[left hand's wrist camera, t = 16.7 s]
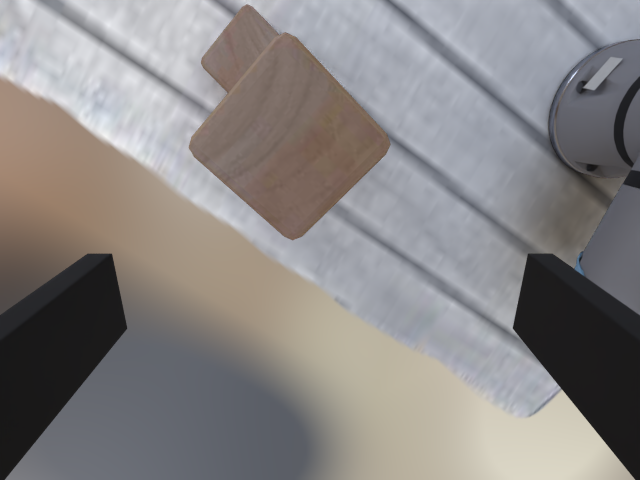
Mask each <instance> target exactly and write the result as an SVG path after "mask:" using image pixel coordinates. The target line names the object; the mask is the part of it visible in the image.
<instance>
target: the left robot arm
mask: <svg viewBox="0 0 640 480" xmlns="http://www.w3.org/2000/svg"><path fill="white" fill-rule="evenodd" d="M549 132H550V138H551V142H552V145H553V148H554V150H555V152H556V153H557V155H558V156H559V158H560V159H561V160H562V161H563V162H564V163H565V164H566V165H567V166H569V167H570V168H572V169H574V170H576V171H578V172H580V173H584V174H587V175H590V176H594V177H602V178H617V177H625V176H627V178H626V179H625V181H624V183H623V184H622V186H621V187H620V189H619V191H618V193H617V194H616V196H615V198H614V199H613V201H612V203H611V205H610V206H609V208H608V210H607V212H606V213H605V215H604V217H603V219H602V220H601V222H600V224H599V226H598V227H597V229H596V231H595V233H594V234H593V236H592V238H591V240H590V241H589V243H588V245H587V247H586V248H585V250H584V251H583V252H581V253H580V254H579V256H578V258H577V263H576V267H575V269H573V268H572V267H571V266H569V265H568V264H566V263H565V262H563V261H562V260H561V259H559V258H558V257H556V256H555V255H553V254H528V257H527V261H526V266H525V271H524V276H523V281H522V286H521V291H520V296H519V300H518V305H517V310H516V315H515V320H514V325H513V329H514V331H515V332H516V333H517V334H518V335H519V337H520V338H521V339H522V340H523V342H524V343H525V344H526V345H527V347H528V348H529V349H530V350H531V352H532V353H533V354H534V355H535V356H536V358H537V359H538V360H539V361H540V363H541V364H542V365H543V366H544V368H545V369H546V370H547V371H548V372H549V374H550V375H551V376H552V377H553V379H554V380H555V381H556V382H557V384H558V385H559V386H560V387H561V389H562V390H563V391H564V392H565V393H566V395H567V396H568V397H569V398H570V400H571V401H572V402H573V403H574V405H575V406H576V407H577V408H578V409H579V411H580V412H581V413H582V414H583V416H584V417H585V418H586V419H587V421H588V422H589V423H590V424H591V426H592V427H593V428H594V429H595V430H596V432H597V433H598V434H599V435H600V437H601V438H602V439H603V440H604V442H605V443H606V444H607V445H608V447H609V448H610V449H611V450H612V451H613V453H614V454H615V455H616V456H617V458H618V459H619V460H620V461H621V463H622V464H623V465H624V466H625V467H626V469H627V470H628V471H629V472H630V474H631V475H632V476H633V477H634V479H635V480H640V39H637V40H629V41H623V42H618V43H614V44H611V45H608V46H605V47H603V48H601V49H599V50H597V51H595V52H593V53H592V54H590V55H589V56H587V57H586V58H585V59H583V60H582V61H581V62H580V63H579V64H578V65H577V66H576V67H575V68H574V69H573V70H572V71H571V72H570V73H569V74H568V76H567V77H566V78H565V80H564V81H563V83H562V84H561V86H560V88H559V90H558V92H557V94H556V96H555V98H554V101H553V104H552V108H551V112H550V119H549ZM631 186H632V187H631ZM634 187H635V188H634ZM638 188H639V189H638ZM126 329H127V325H126V320H125V315H124V310H123V305H122V301H121V296H120V291H119V286H118V281H117V276H116V271H115V266H114V261H113V257H112V254H87V255H85V256H84V257H82V258H81V259H79V260H78V261H77V262H75V263H74V264H72V265H71V266H70V267H68V268H67V269H65V270H64V271H62V272H61V273H59V274H58V275H57V276H55V277H54V278H52V279H51V280H50V281H48V282H47V283H45V284H44V285H42V286H41V287H40V288H38V289H37V290H35V291H34V292H33V293H31V294H30V295H28V296H27V297H25V298H24V299H22V300H21V301H20V302H18V303H17V304H15V305H14V306H13V307H11V308H10V309H8V310H7V311H5V312H4V313H3V314H1V315H0V480H5V479H6V477H7V476H8V475H9V474H10V472H11V471H12V470H13V469H14V467H15V466H16V465H17V464H18V463H19V461H20V460H21V459H22V458H23V456H24V455H25V454H26V453H27V451H28V450H29V449H30V448H31V447H32V445H33V444H34V443H35V442H36V440H37V439H38V438H39V437H40V435H41V434H42V433H43V432H44V430H45V429H46V428H47V427H48V426H49V424H50V423H51V422H52V421H53V419H54V418H55V417H56V416H57V414H58V413H59V412H60V411H61V409H62V408H63V407H64V406H65V405H66V403H67V402H68V401H69V400H70V398H71V397H72V396H73V395H74V393H75V392H76V391H77V390H78V388H79V387H80V386H81V385H82V384H83V382H84V381H85V380H86V379H87V377H88V376H89V375H90V374H91V372H92V371H93V370H94V369H95V367H96V366H97V365H98V364H99V363H100V361H101V360H102V359H103V358H104V356H105V355H106V354H107V353H108V352H109V350H110V349H111V348H112V347H113V345H114V344H115V343H116V342H117V340H118V339H119V338H120V337H121V335H122V334H123V333H124V332H125V331H126Z"/></svg>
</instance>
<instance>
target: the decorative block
mask: <svg viewBox="0 0 640 480" xmlns="http://www.w3.org/2000/svg"><path fill="white" fill-rule="evenodd" d="M201 64H202V66H203V68H204V69H205V70H206V71H207V72H208V73H209V74H210V75H211V76H212V77H213V78H214V79H215V80H216V81H217V82H218V83H219V84H220V85H221V86H222V87H223V88H224V89H225V90H226V91H227V92H228V94H227V95H226V96H225V98H224V99H223V100H222V101H221V102H220V104H219V105H218V106H217V107H216V108H215V110H214V111H213V112H212V113H211V114H210V116H209V117H208V118H207V119H206V120H205V122H204V123H203V124H202V125H201V126H200V128H199V129H198V130H197V131H196V132H195V134H194V135H193V136H192V137H191V141H190V145H189V149H190V150H191V152H192V154H193V156H194V157H195V158H196V159H197V160H198V161H199V162H201V163H202V164H203V165H204V166H205V167H206V168H207V169H209V170H210V171H211V172H212V173H213V174H214V175H215V176H216V177H218V178H219V179H220V180H221V181H222V182H223V183H224V184H225V185H227V186H228V187H229V188H230V189H231V190H232V191H233V192H235V193H236V194H237V195H238V196H239V197H240V198H241V199H242V200H244V201H245V202H246V203H247V204H248V205H249V206H250V207H251V208H253V209H254V210H255V211H256V212H257V213H258V214H259V215H261V216H262V217H263V218H264V219H265V220H266V221H267V222H268V223H270V224H271V225H272V226H273V227H274V228H275V229H276V230H277V231H279V232H280V233H281V234H282V235H283V236H284V237H287V238H289V239H291V240H294V239H297V238H299V237H302V236H303V235H304V234H305V233H306V232H307V231H308V230H309V229H310V228H311V227H312V226H313V225H314V224H315V223H316V222H317V221H318V220H319V219H320V218H321V217H322V216H323V215H324V214H325V213H327V212H328V211H329V210H330V209H331V208H332V207H333V206H334V205H335V204H336V203H337V202H338V201H339V200H340V199H341V198H342V197H343V196H344V195H345V194H346V193H347V192H348V191H349V190H350V189H351V188H352V187H353V186H354V185H355V184H356V183H357V182H358V181H359V180H360V179H361V178H362V177H363V176H364V175H365V174H366V173H367V172H368V171H369V170H370V169H371V168H372V167H373V166H374V165H375V164H377V163H378V162H379V161H380V160H381V159H382V158H383V157H384V156H385V155H386V153H387V151H388V149H389V147H390V141H389V138H388V136H387V134H386V133H385V132H384V131H383V129H382V128H381V127H380V126H379V125H378V124H377V123H376V122H375V121H374V120H373V119H372V118H371V117H370V116H369V115H368V113H367V112H366V111H365V110H364V109H363V108H362V107H361V106H360V105H359V104H358V103H357V102H356V101H355V100H354V99H353V97H352V96H351V95H350V94H349V93H348V92H347V91H346V90H345V89H344V88H343V87H342V86H341V85H340V84H339V83H338V81H337V80H336V79H335V78H334V77H333V76H332V75H331V74H330V73H329V72H328V71H327V70H326V69H325V68H324V67H323V65H322V64H321V63H320V62H319V61H318V60H317V59H316V58H315V57H314V56H313V55H312V54H311V53H310V52H309V51H308V50H307V48H306V47H305V46H304V45H303V44H302V43H301V42H300V41H299V40H298V39H297V38H296V37H294V36H292V35H290V34H288V33H283V34H281V35H279V34H278V33H277V32H276V31H275V30H274V29H273V28H272V27H271V26H270V25H269V24H268V22H267V21H266V20H265V19H264V18H263V17H262V16H261V15H260V14H259V13H258V12H257V11H256V10H255V9H254V8H253V7H252V6H250V5H245V6H243V7H242V8H241V9H240V11H239V12H238V13H237V14H236V16H235V17H234V18H233V19H232V21H231V22H230V23H229V24H228V26H227V27H226V28H225V29H224V31H223V32H222V33H221V35H220V36H219V37H218V38H217V40H216V41H215V42H214V43H213V45H212V46H211V47H210V48H209V50H208V51H207V52H206V54H205V55H204V56H203V57H202V60H201Z"/></svg>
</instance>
